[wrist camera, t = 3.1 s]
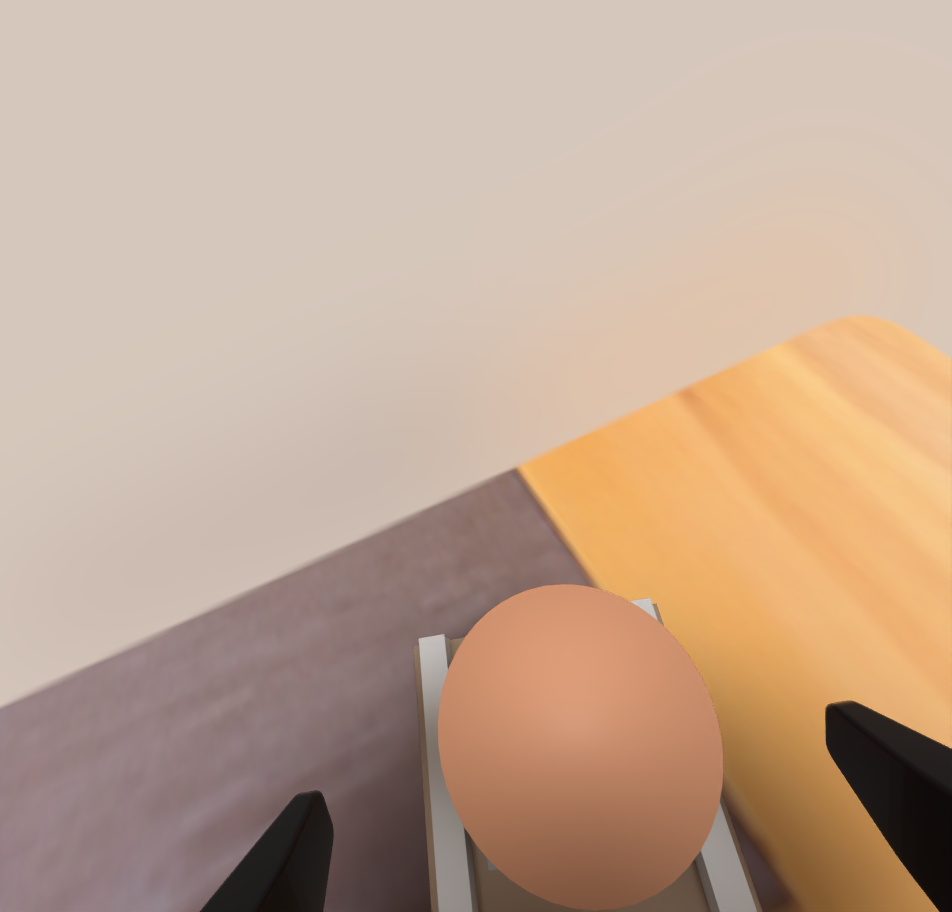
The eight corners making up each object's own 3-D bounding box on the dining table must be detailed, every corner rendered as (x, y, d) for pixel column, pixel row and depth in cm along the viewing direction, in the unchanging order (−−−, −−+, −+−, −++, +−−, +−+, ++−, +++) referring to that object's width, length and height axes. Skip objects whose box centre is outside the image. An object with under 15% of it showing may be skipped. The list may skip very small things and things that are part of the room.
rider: (662, 828, 12) (854, 969, 5) (494, 856, 12) (424, 1035, 5) (606, 628, 15) (671, 517, 7) (468, 652, 15) (397, 567, 7)
